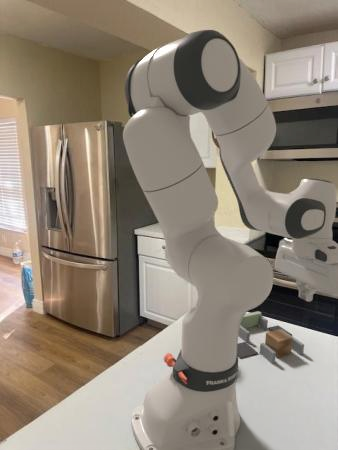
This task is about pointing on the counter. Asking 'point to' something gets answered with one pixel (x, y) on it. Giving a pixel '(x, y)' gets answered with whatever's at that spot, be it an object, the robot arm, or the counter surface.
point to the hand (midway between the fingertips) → (305, 299)
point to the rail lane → (257, 319)
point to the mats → (247, 350)
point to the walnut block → (279, 342)
